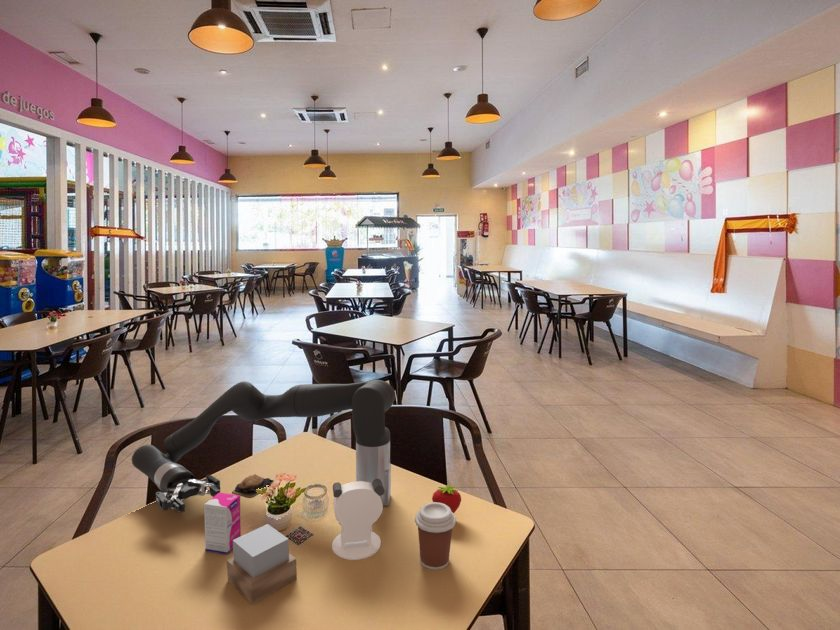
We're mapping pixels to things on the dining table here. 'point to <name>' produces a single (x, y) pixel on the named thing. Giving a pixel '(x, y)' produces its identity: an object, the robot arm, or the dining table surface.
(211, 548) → the supplement box
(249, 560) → the grey top block
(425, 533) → the coffee cup
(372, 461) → the robot arm
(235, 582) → the walnut base block
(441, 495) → the strawberry
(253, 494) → the brown flat rounded lump
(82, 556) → the dining table surface
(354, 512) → the panda figurine
